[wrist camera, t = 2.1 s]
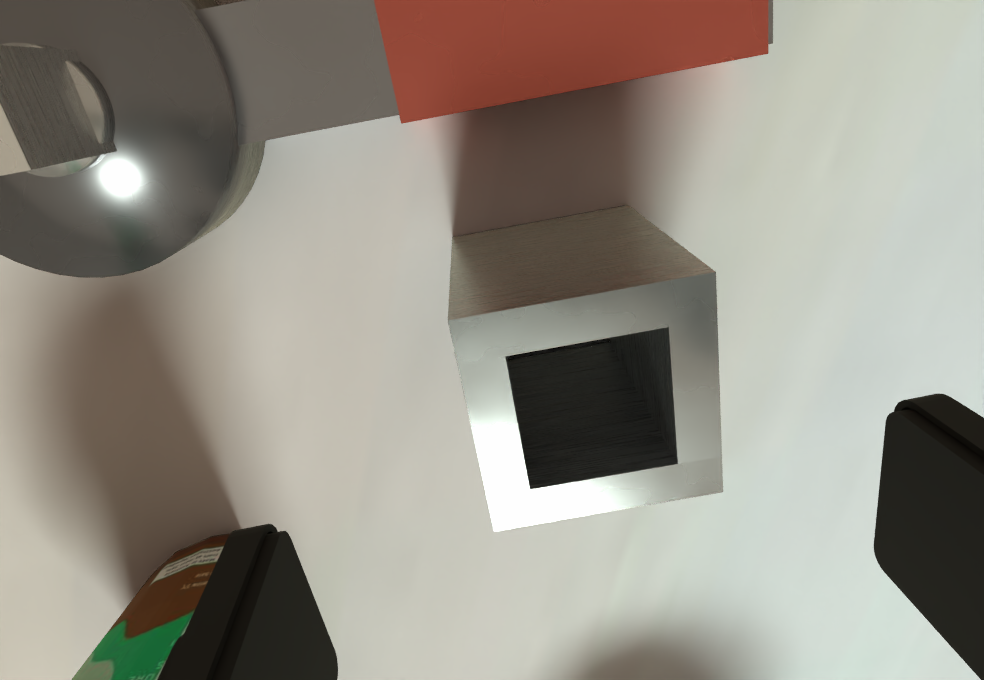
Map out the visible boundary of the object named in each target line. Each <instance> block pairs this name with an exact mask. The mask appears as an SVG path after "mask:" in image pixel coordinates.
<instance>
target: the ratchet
mask: <svg viewBox="0 0 984 680" xmlns="http://www.w3.org/2000/svg"><path fill="white" fill-rule="evenodd" d="M771 43H773V0H245V1H240V2H235V3H230V4H225V5H220V6H219V5H218V4H217V3H216V1H215V0H0V254H1V255H3V256H5V257H7V258H9V259H11V260H13V261H15V262H18V263H21V264H24V265H27V266H29V267H32V268H35V269H38V270H42V271H47V272H51V273H55V274H59V275H67V276H75V277H110V276H118V275H124V274H128V273H132V272H136V271H140V270H143V269H145V268H148V267H150V266H153V265H155V264H157V263H160V262H161V261H163V260H165V259H166V258H168V257H170V256H171V255H173V254H175V253H176V252H178V251H180V250H181V249H183V248H184V247H186V246H188V245H189V244H191V243H192V242H194V241H196V240H197V239H199V238H201V237H202V236H204V235H205V234H207V233H209V232H210V231H212V230H213V229H215V228H217V227H218V226H219V225H221V224H222V223H223V222H224V221H225V220H227V219H228V218H229V217H230V216H231V215H232V214H233V213H234V212H235V211H236V210H237V209H238V207H239V206H240V205H241V204H242V203H243V201H244V200H245V198H246V197H247V195H248V193H249V192H250V190H251V189H252V186H253V184H254V182H255V180H256V178H257V175H258V173H259V169H260V166H261V162H262V159H263V155H264V148H265V141H266V140H269V139H275V138H280V137H285V136H290V135H295V134H301V133H306V132H311V131H316V130H322V129H327V128H332V127H337V126H343V125H348V124H353V123H358V122H363V121H369V120H374V119H379V118H384V117H390V116H395V115H400V120H401V123H407V122H412V121H417V120H422V119H428V118H433V117H438V116H443V115H449V114H454V113H459V112H464V111H470V110H475V109H480V108H485V107H491V106H496V105H501V104H506V103H512V102H517V101H522V100H527V99H532V98H538V97H543V96H548V95H553V94H559V93H564V92H569V91H574V90H580V89H585V88H590V87H595V86H601V85H606V84H611V83H616V82H622V81H627V80H632V79H637V78H643V77H648V76H653V75H658V74H664V73H669V72H674V71H679V70H684V69H690V68H695V67H700V66H705V65H711V64H716V63H721V62H726V61H732V60H737V59H742V58H747V57H753V56H758V55H763V54H768V44H771Z"/></svg>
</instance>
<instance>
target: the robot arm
mask: <svg viewBox="0 0 984 680" xmlns="http://www.w3.org/2000/svg"><path fill="white" fill-rule="evenodd" d="M874 552H875V556H876V559H877V561H878V563H879V565H880V567H881V568H882V570H883V571H884V572H885V573H886V574H887V576H888V577H889V578H890V579H891V580H892V581H893V582H894V583H895V584H896V586H897V587H898V588H899V589H900V590H901V591H902V592H903V593H904V594H905V596H906V597H907V598H908V599H909V600H910V601H911V602H912V603H913V604H914V606H915V607H916V608H917V609H918V610H919V611H920V612H921V613H922V614H923V616H924V617H925V618H926V619H927V620H928V621H929V622H930V623H931V625H932V626H933V627H934V628H935V629H936V630H937V631H938V632H939V633H940V635H941V636H942V637H943V638H944V639H945V640H946V641H947V642H948V643H949V645H950V646H951V647H952V648H953V649H954V650H955V651H956V652H957V653H958V655H959V656H960V657H961V658H962V659H963V660H964V661H965V662H966V663H967V665H968V666H969V667H970V668H971V669H972V670H973V671H974V672H975V673H976V675H977V676H978V677H979V678H980V679H981V680H984V418H983V417H981V416H980V415H978V414H977V413H975V412H973V411H972V410H970V409H969V408H967V407H966V406H964V405H962V404H961V403H959V402H958V401H956V400H954V399H953V398H951V397H949V396H947V395H945V394H933V395H928V396H923V397H918V398H913V399H908V400H903V401H901V402H899V403H898V404H897V405H896V407H895V410H894V412H892V413H890V414H889V415H888V417H887V419H886V426H885V436H884V446H883V456H882V466H881V477H880V487H879V497H878V507H877V517H876V528H875V538H874ZM337 676H338V664H337V656H336V653H335V649H334V647H333V644H332V642H331V639H330V637H329V634H328V632H327V629H326V627H325V624H324V622H323V619H322V616H321V614H320V611H319V609H318V606H317V604H316V601H315V599H314V596H313V594H312V591H311V588H310V586H309V583H308V581H307V578H306V576H305V573H304V571H303V568H302V566H301V563H300V561H299V558H298V555H297V553H296V550H295V548H294V545H293V543H292V540H291V538H290V536H289V534H288V533H287V532H286V531H281V532H278V531H277V529H276V528H275V527H274V526H273V525H272V524H266V525H261V526H256V527H251V528H246V529H240V530H235V531H233V532H232V533H231V534H230V535H229V537H228V538H227V540H226V543H225V545H224V547H223V549H222V551H221V554H220V556H219V558H218V560H217V562H216V565H215V567H214V569H213V571H212V573H211V576H210V578H209V580H208V582H207V584H206V587H205V589H204V591H203V593H202V595H201V598H200V600H199V602H198V604H197V606H196V609H195V611H194V613H193V615H192V617H191V620H190V622H189V624H188V626H187V628H186V631H185V633H184V634H183V635H182V636H180V637H179V638H178V639H177V641H176V643H175V644H174V646H173V647H172V649H171V651H170V654H169V656H168V658H167V660H166V662H165V664H164V666H163V669H162V671H161V673H160V675H159V677H158V679H157V680H337Z"/></svg>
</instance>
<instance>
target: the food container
mask: <svg viewBox="0 0 984 680" xmlns="http://www.w3.org/2000/svg"><path fill="white" fill-rule="evenodd" d="M230 534H231V533H230ZM230 534H224V535H218V536H212V537H210V538H207V539H205V540H203V541H200V542H198V543H196V544H193V545H191V546H189V547H186V548H184V549H182V550H179V551H177V552H176V553H175V554H174V555H173V556H171V557H170V558H169V559H168V560H167V561H166V562H165V563H164V564H163V565H162V566H160V567H159V568H158V569H157V570H156V571H155V572H154V573H153V574H152V575H151V576H150V578H149V579H148V580H147V582H146V583H145V584H144V585H143V587H142V588H141V589H140V591H139V592H138V593H137V595H136V596H135V597H134V599H133V600H132V601H131V602H130V604H129V605H128V606H127V608H126V609H125V610H124V612H123V613H122V614H121V616H120V617H119V618H118V620H117V621H116V622H115V623H114V625H113V626H112V627H111V629H110V630H109V631H108V633H107V634H106V635H105V637H104V638H103V639H102V640H101V642H100V643H99V644H98V646H97V647H96V648H95V650H94V651H93V652H92V654H91V655H90V656H89V658H88V659H87V660H86V661H85V663H84V664H83V665H82V667H81V668H80V669H79V671H78V672H77V673H76V675H75V676H74V677H73V678H72V680H157V679H158V677H159V675H160V673H161V671H162V669H163V666H164V664H165V662H166V660H167V658H168V656H169V654H170V651H171V649H172V647H173V646H174V644H175V643H176V641H177V639H178V638H179V637H180V636H182V635H183V634H184V633H185V631H186V628H187V626H188V624H189V622H190V620H191V617H192V615H193V613H194V611H195V609H196V606H197V604H198V602H199V600H200V598H201V595H202V593H203V591H204V589H205V587H206V584H207V582H208V580H209V578H210V576H211V573H212V571H213V569H214V567H215V565H216V562H217V560H218V558H219V556H220V554H221V551H222V549H223V547H224V545H225V543H226V540H227V538H228V537H229V535H230Z"/></svg>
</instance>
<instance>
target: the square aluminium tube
mask: <svg viewBox="0 0 984 680" xmlns="http://www.w3.org/2000/svg"><path fill="white" fill-rule="evenodd" d="M448 324H449V328H450V333H451V337H452V342H453V346H454V351H455V355H456V360H457V364H458V369H459V374H460V378H461V383H462V387H463V392H464V396H465V401H466V405H467V410H468V414H469V419H470V424H471V428H472V433H473V437H474V442H475V446H476V451H477V455H478V460H479V464H480V469H481V474H482V478H483V483H484V487H485V492H486V496H487V501H488V505H489V510H490V514H491V519H492V524H493V528H494V531H500V530H506V529H512V528H517V527H523V526H529V525H535V524H541V523H546V522H552V521H558V520H564V519H570V518H575V517H581V516H587V515H593V514H599V513H604V512H610V511H616V510H622V509H628V508H633V507H639V506H645V505H651V504H657V503H662V502H668V501H674V500H680V499H686V498H691V497H697V496H703V495H709V494H715V493H720V492H723V477H722V446H721V416H720V385H719V355H718V325H717V294H716V272H715V271H714V270H713V269H711V268H710V267H709V266H707V265H706V264H705V263H703V262H702V261H701V260H699V259H698V258H697V257H695V256H694V255H693V254H692V253H690V252H689V251H688V250H686V249H685V248H684V247H682V246H681V245H680V244H678V243H677V242H676V241H674V240H673V239H672V238H670V237H669V236H668V235H667V234H665V233H664V232H663V231H661V230H660V229H659V228H657V227H656V226H655V225H653V224H652V223H651V222H649V221H648V220H647V219H645V218H644V217H643V216H642V215H640V214H639V213H638V212H636V211H635V210H634V209H632V208H631V207H630V206H628V205H625V206H620V207H614V208H609V209H604V210H598V211H593V212H587V213H582V214H577V215H571V216H566V217H560V218H555V219H550V220H544V221H539V222H533V223H528V224H523V225H517V226H512V227H506V228H501V229H496V230H490V231H485V232H479V233H474V234H469V235H463V236H458V237H452V253H451V271H450V290H449V309H448ZM605 338H609V342H608V343H602V344H597V345H591V346H586V347H580V348H574V349H569V350H563V351H558V352H552V353H547V354H541V355H535V356H530V357H524V358H519V359H513V360H508V357H507V356H510V355H516V354H521V353H527V352H532V351H538V350H544V349H549V348H555V347H560V346H566V345H571V344H577V343H583V342H588V341H594V340H599V339H605Z"/></svg>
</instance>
